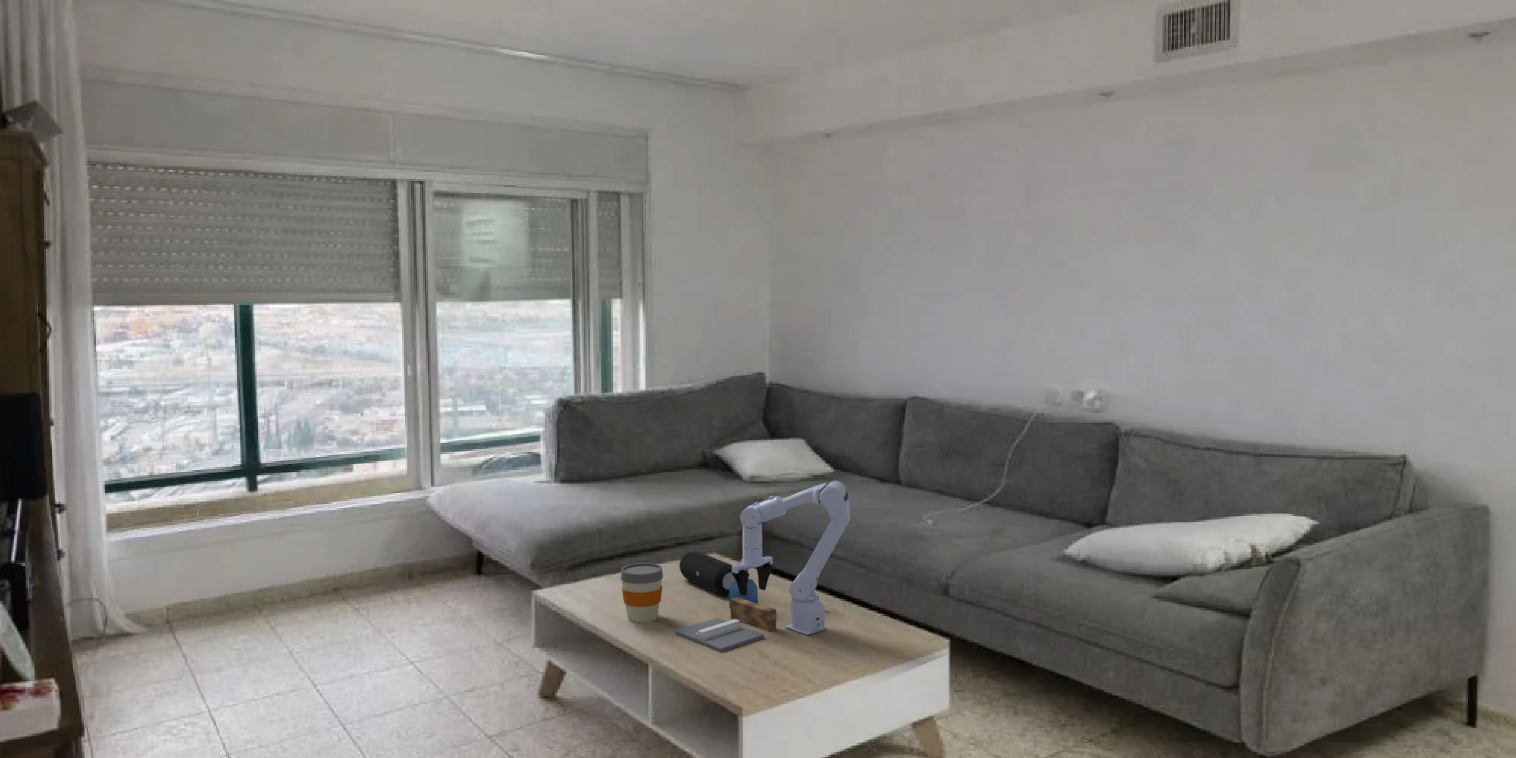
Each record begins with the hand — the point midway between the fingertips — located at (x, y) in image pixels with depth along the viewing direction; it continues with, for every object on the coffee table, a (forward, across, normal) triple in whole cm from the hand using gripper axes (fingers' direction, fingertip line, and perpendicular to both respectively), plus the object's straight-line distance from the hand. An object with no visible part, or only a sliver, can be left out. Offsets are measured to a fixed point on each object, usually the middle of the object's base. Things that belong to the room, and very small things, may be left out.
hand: (752, 592), depth 304 cm
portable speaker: (+10, -14, -36) cm, 40 cm away
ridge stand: (+9, +14, +1) cm, 17 cm away
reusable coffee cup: (+10, +20, -27) cm, 35 cm away
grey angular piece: (+10, -20, +3) cm, 22 cm away
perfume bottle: (+10, -8, -13) cm, 18 cm away
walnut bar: (+10, 0, 0) cm, 10 cm away
